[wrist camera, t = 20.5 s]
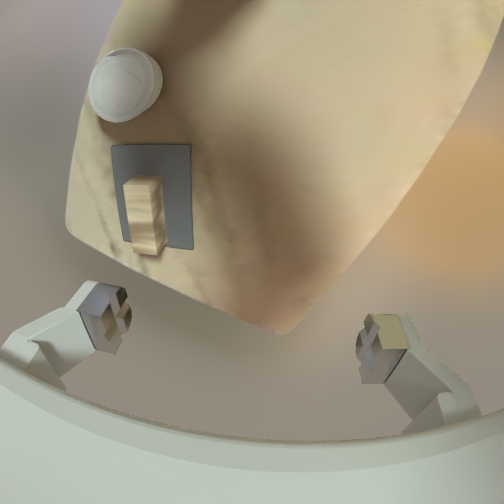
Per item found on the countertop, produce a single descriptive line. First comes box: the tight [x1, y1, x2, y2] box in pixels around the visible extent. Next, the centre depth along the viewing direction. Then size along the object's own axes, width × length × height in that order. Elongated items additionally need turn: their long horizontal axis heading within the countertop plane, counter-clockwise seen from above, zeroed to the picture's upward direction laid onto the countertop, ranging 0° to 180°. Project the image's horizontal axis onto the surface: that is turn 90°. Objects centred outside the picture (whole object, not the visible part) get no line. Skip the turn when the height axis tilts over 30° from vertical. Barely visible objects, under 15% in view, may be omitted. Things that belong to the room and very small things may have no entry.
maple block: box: [123, 175, 167, 256], centre depth 44 cm, size 4×4×12 cm
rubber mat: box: [111, 144, 194, 250], centre depth 45 cm, size 18×14×1 cm
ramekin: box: [88, 47, 163, 123], centre depth 33 cm, size 11×11×5 cm
